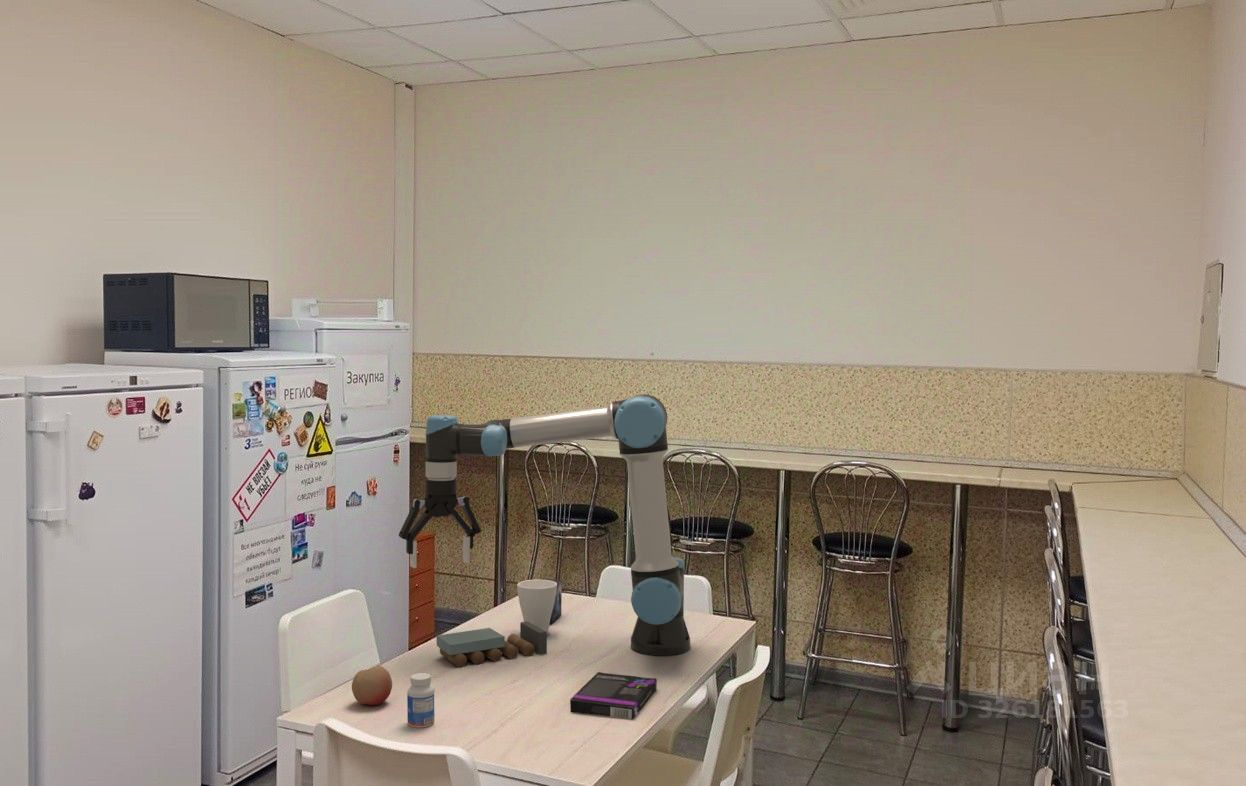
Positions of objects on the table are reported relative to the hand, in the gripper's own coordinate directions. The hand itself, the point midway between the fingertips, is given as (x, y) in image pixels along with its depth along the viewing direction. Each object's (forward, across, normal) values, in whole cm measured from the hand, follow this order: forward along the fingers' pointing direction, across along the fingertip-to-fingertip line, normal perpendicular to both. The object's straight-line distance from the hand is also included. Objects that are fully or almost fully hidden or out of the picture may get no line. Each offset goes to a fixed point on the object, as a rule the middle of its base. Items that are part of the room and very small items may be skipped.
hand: (440, 564), depth 254 cm
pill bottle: (+23, +19, +42) cm, 51 cm away
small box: (+22, -38, -18) cm, 47 cm away
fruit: (+23, +24, +26) cm, 42 cm away
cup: (+22, -29, -5) cm, 37 cm away
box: (+23, -22, +49) cm, 58 cm away
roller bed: (+22, -10, +6) cm, 25 cm away
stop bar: (+22, -23, +6) cm, 32 cm away
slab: (+19, -6, +6) cm, 21 cm away
